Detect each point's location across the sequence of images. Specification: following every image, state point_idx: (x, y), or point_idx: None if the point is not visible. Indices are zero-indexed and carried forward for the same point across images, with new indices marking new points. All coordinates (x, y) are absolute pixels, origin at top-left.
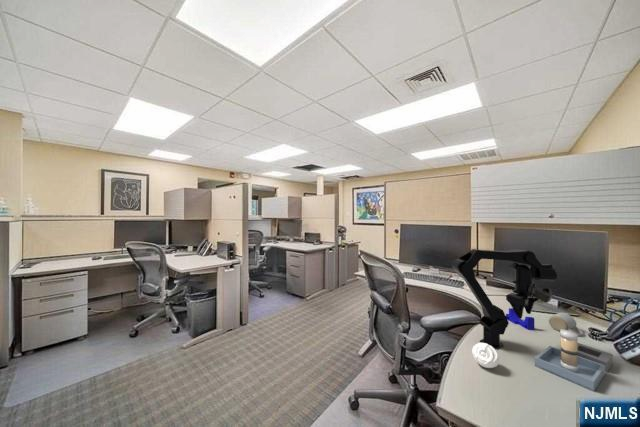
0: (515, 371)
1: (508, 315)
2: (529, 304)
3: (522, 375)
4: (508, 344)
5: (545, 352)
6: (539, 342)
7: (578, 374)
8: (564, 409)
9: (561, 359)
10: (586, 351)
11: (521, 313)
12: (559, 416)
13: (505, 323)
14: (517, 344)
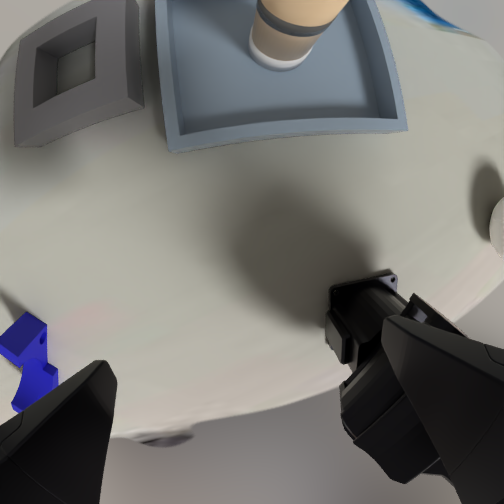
0: (466, 161)
1: None
2: (55, 459)
3: (466, 141)
4: (294, 284)
5: (298, 119)
6: (104, 240)
7: None
8: (482, 53)
9: (306, 52)
10: (44, 90)
11: (457, 339)
12: (499, 62)
13: (449, 323)
14: (247, 269)
